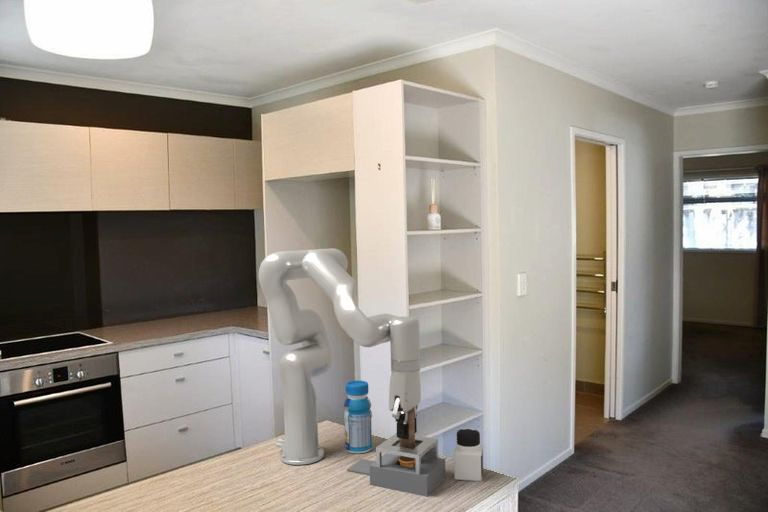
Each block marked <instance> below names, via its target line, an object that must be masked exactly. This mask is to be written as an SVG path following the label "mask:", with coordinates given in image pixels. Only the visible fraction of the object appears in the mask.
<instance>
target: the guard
mask: <svg viewBox="0 0 768 512" xmlns="http://www.w3.org/2000/svg"><path fill="white" fill-rule="evenodd" d="M382 453H383V454H386V453H388V454H394V455H399V456H405V457H411V458H415V463H416V474H417V475H420V474H421V457H428V458H434V459H437V458H439V440H438V438H434V437H429V436H428V437H427V436H423V435H422V436H420V435H416V434H415V448H414V449H409V448H403V447H400V439H399V438H397V432H396V433H394V434H393V435H391V436H390V437H389V438H387V439H386V440H384V441H383V442H382V443H380V444H378V445H377V446H376V447H375V456H376V457H375V459H376V460H375V461H376V467H381V466H382V456H383V455H382Z"/></svg>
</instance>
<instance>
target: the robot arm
mask: <svg viewBox="0 0 768 512" xmlns="http://www.w3.org/2000/svg"><path fill="white" fill-rule="evenodd" d="M348 262H349V261H348V258H347V256H346V254H344V252H343V251H342V250H340V249H338V248H333V247H331V248H318V249H299V250H298V249H297V250H284V251H283V250H282V251H276V252H273V253H270V254H268V255H267V256H266V257H264V259H263V260H262V261H261V264H260V266H259V270H258V282H259V286H260V288H261V291H262V293H263V296H264V298H265V301H266V304H267V308H268V312H269V316H270V319H271V324H272V326H273V327H272V328H273V331H274V335H275V337H276V339H277V341H278V342H279V344H281V345H283V346H293V345H297V344H300V343H301V345H302V346H301V347H298V348H294V349H292V350H289V351H287V352H286V353H285V354H283V356H281V359H280V361H279V364H278V369H279V370H278V371H279V376H280V381H281V384H282V385H281V386H282V393H283V396H282V397H283V416H284V421H283V423H284V438H283V437H278V438H277V440H276V442H275V447H276V448H281V449H282V451H281V452H280V454H279V460H280V461H281V462H283V463H284V464H287V465H292V466H293V465H294V466H298V465H299V466H300V465H301V466H303V465H309V464H314V463H316V462H318V461H320V460H322V459H323V458H324V456H325V452H324V449H323V448H322V447H320V446H319V421H318V397H317V396H318V395H317V391H316V388H315V387H314V385H313V381H312V379H314V378H317V377H320V376H323V375H324V374H326V373H327V372H329V371H330V369H331V367H332V365H333V353H332V349H331V346H330V341H329V339H328V338H329V337H328V335H327V330H326V328H325V324H324V322H323V319H322V317H321V316H320V315H319V314H318V312H316V311H315V310H313V309H309V308H302V309H300V307H299V304H298V303H299V302H298V299H297V296H296V294H295V292H294V291H293V289H292V287H291V286H290V285H289V284H288V283H287V282H288V281H290V280H300V279H301V280H302V279H310V280H311V281H312V282H313V283H314V284H315V285H316V287H318V289H320V291H321V292H322V293H324V295H325V296H326V297H327V299H329V301H331V302H332V304H333V311H334V315H335V317H336V319H337V322H338V324H339V326H340V327H341V329H343V331H344V332H345V334H347V336H348V337H349V338H350V339H351V340H352V341H354V342H355V343H356V344H357V345H359V346H361V347H363V348H373V347H376V346H379V345H381V344H384V343H385V344H386V343H388V342H390V345H389V346H390V377H389V378H390V379H389V387H388V388H389V391H388V393H389V394H388V409H389V411H391V412H392V414H391V416H392V417H393V419H395V423H396V433H397V438H402V439H408V438H409V423H407V416H408V411H409V410H411V409H412V408H413V407H414V419H415V434H416V433H417V432H418V431H417V430H418V428H417V426H418V425H417V424H418V423H417V416H418V411H417V410H418V406H419V404H420V403H421V378H420V377H421V376H420V371H421V355H420V354H421V351H420V350H421V349H420V348H421V347H420V342H421V340H420V339H421V338H420V321H419V319H417V317H414V316H398V315H394V314H390V313H380V314H375V315H371V316H367V315H365V313H364V312H363V311H362V310H361V309H360V308H359V307H358V306H357V304H356V302H355V301H354V298H353V297H354V295H355V294H356V291H357V290H358V289H357V288H358V284H357V281H356V280H355V279H354V278H353V277H352V276H351V275H350V274H349V273H348V272H347V270H348V268H349V267H348V264H349V263H348ZM400 408H401V409H403V410H400ZM400 413H402V414H404V417H403V416H402V415H400Z"/></svg>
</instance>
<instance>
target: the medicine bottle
mask: <svg viewBox="0 0 768 512" xmlns="http://www.w3.org/2000/svg"><path fill="white" fill-rule="evenodd" d="M480 440H481V434H480V432H479V431H478V430H476V429H475V428H470V427H468V428H467V427H465V428H460V429H458V430H457V432H456V444H455V448H454V452H453V474H454V480H456V481H458V480H459V481H471V482H473V481H474V482H482V481H483V475H484V474H483V473H484V458H483V457H484V453H483V452H484V449H483V448H484V447H483V445H482V444H481V441H480Z"/></svg>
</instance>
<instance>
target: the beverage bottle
mask: <svg viewBox="0 0 768 512" xmlns="http://www.w3.org/2000/svg"><path fill="white" fill-rule="evenodd" d="M345 394H346V396H347V397H346V399H345V401H344V403H343V408H344V412H343V419H344V438H345V439H344V449H345V451H346V452H347V453H350V454H355V455H356V454H357V455H358V454H365V453H368V452H370V451H371V450H372V449H373V437H372V435H373V434H372V418H373V412H372V410H371V408H372V402H371V400H370V398H369V397H368V395H369V382H368V381H366V380H350V381H348V382H346V383H345Z"/></svg>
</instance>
